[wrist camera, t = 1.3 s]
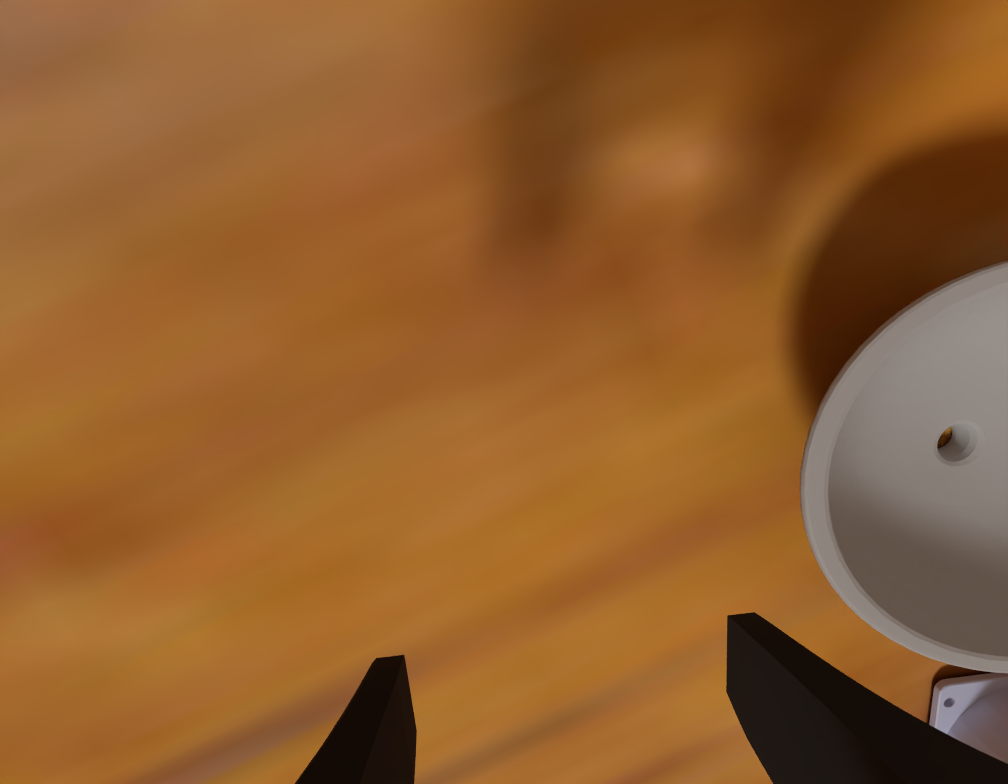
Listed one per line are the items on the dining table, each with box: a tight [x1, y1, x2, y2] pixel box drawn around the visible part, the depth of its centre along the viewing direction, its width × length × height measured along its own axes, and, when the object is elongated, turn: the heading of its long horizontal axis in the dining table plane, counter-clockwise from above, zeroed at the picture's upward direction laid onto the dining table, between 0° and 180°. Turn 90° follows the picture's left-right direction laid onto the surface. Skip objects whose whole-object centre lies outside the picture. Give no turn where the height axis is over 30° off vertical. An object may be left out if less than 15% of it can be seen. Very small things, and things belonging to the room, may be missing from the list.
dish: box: [800, 261, 1008, 673], centre depth 21 cm, size 18×14×5 cm
